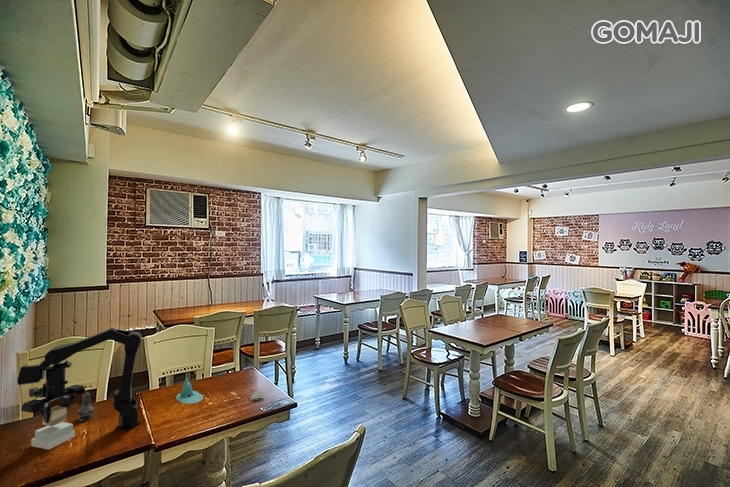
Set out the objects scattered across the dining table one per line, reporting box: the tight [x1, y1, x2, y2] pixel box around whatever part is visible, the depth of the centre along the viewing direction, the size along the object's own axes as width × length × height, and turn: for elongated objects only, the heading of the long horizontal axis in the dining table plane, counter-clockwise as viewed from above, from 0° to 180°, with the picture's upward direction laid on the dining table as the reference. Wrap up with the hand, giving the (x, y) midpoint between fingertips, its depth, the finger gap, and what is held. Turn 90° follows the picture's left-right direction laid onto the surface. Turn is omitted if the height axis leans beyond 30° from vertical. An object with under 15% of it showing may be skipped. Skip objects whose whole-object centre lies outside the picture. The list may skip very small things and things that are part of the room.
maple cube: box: [42, 405, 68, 426], centre depth 133 cm, size 5×5×5 cm
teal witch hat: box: [175, 377, 204, 405], centre depth 173 cm, size 12×20×9 cm, turn 47°
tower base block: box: [30, 430, 75, 451], centre depth 133 cm, size 9×9×3 cm
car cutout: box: [250, 390, 266, 401], centre depth 171 cm, size 15×7×4 cm, turn 112°
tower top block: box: [34, 421, 74, 442], centre depth 133 cm, size 8×8×3 cm
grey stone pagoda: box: [77, 390, 95, 422], centre depth 151 cm, size 6×6×12 cm
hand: (54, 419), depth 133 cm, fingers closed on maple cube, 5 cm apart
